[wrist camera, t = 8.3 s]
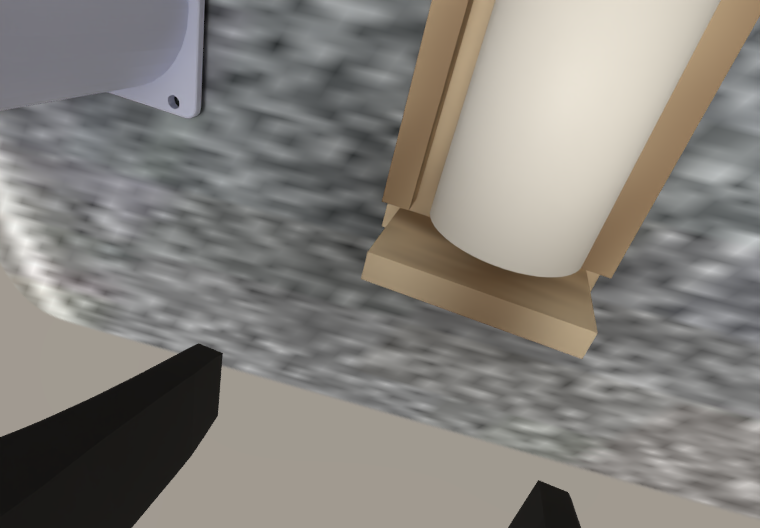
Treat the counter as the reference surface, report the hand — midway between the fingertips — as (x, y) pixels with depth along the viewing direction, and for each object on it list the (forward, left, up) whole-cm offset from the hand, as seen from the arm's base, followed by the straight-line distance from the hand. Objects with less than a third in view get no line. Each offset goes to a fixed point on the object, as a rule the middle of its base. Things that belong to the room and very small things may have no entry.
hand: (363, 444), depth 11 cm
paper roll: (+2, +7, -7) cm, 10 cm away
